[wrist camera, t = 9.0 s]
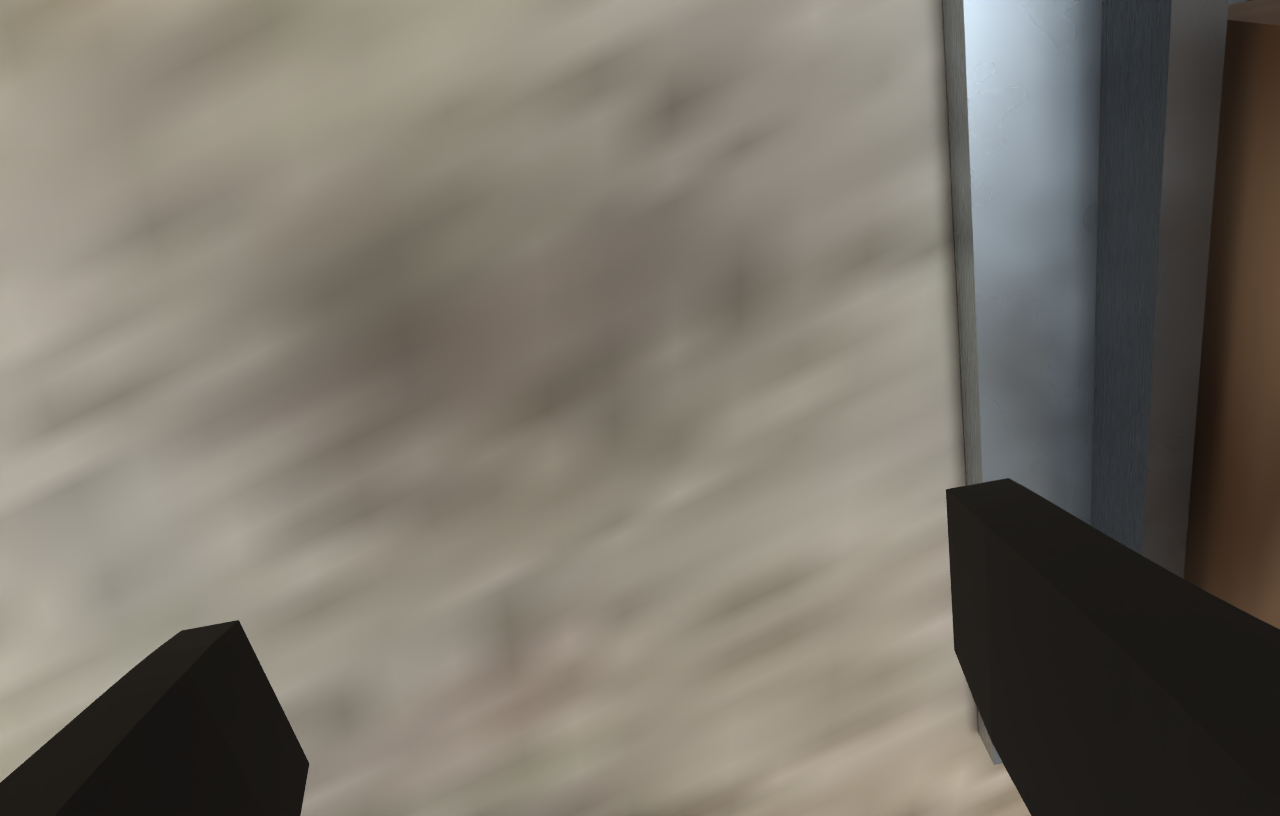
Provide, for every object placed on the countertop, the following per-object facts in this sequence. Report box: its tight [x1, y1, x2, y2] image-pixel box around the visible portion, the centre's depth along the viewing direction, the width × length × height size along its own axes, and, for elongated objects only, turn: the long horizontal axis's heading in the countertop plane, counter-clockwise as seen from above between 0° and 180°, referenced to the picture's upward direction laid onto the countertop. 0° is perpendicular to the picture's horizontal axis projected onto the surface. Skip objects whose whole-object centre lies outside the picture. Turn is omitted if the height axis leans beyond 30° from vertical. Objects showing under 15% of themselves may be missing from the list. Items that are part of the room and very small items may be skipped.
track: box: [943, 0, 1252, 765], centre depth 17 cm, size 20×10×3 cm, turn 11°
